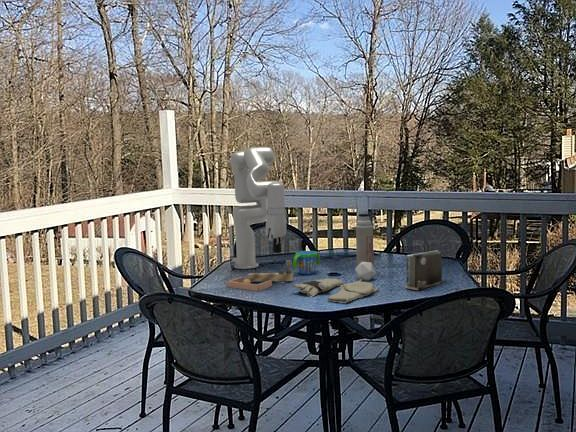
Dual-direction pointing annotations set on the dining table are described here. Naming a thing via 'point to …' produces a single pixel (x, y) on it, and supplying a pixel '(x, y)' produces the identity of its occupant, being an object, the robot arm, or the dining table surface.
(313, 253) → the snack cup
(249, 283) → the ball
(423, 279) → the radio
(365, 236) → the thermos bottle
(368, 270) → the die
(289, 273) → the lever
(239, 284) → the open frame
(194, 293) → the dining table surface
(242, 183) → the robot arm
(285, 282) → the pivot base
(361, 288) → the pair of gloves
